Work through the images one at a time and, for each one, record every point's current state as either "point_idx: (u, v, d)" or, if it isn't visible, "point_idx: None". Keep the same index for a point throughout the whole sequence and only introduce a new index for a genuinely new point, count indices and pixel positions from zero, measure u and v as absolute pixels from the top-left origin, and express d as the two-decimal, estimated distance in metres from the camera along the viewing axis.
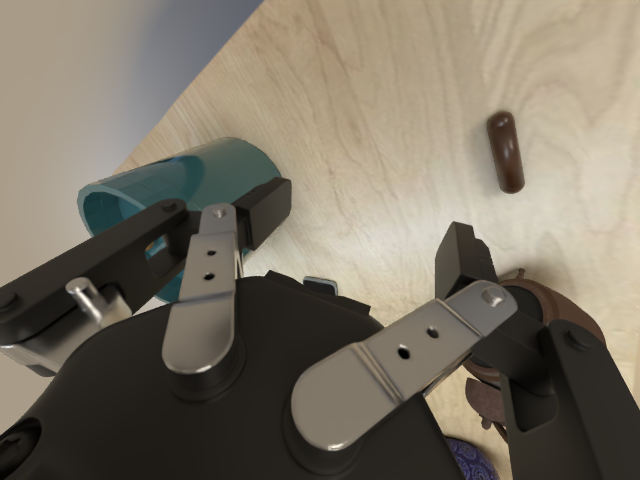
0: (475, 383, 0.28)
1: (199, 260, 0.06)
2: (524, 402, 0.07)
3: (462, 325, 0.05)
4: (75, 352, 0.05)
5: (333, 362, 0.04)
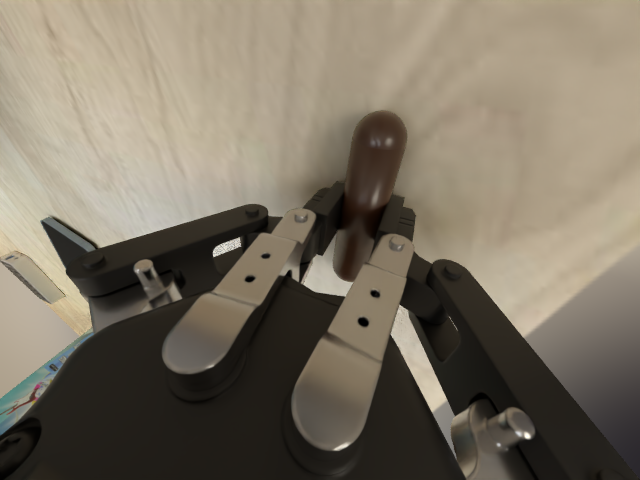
0: None
1: (251, 259, 0.06)
2: (434, 335, 0.08)
3: (391, 276, 0.06)
4: (75, 352, 0.05)
5: (315, 364, 0.04)
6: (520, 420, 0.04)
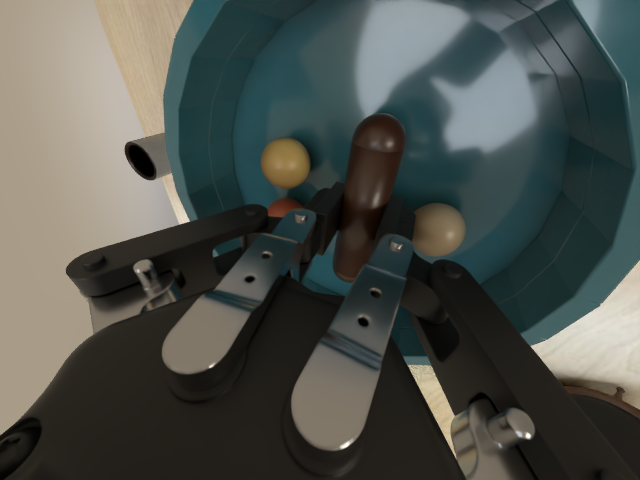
0: None
1: (252, 259, 0.06)
2: (434, 335, 0.08)
3: (390, 276, 0.06)
4: (74, 352, 0.05)
5: (315, 364, 0.04)
6: (520, 420, 0.04)
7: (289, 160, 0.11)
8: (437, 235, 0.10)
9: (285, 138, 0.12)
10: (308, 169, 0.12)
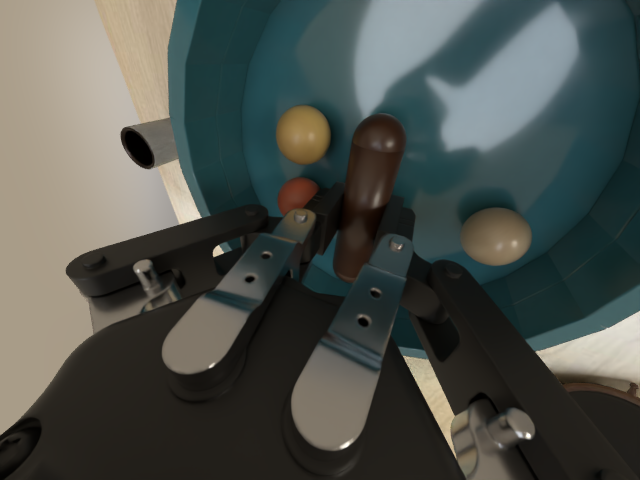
0: None
1: (251, 259, 0.06)
2: (434, 335, 0.08)
3: (391, 277, 0.06)
4: (75, 353, 0.05)
5: (315, 364, 0.04)
6: (520, 420, 0.04)
7: (310, 129, 0.10)
8: (518, 258, 0.10)
9: (304, 105, 0.11)
10: (329, 141, 0.11)
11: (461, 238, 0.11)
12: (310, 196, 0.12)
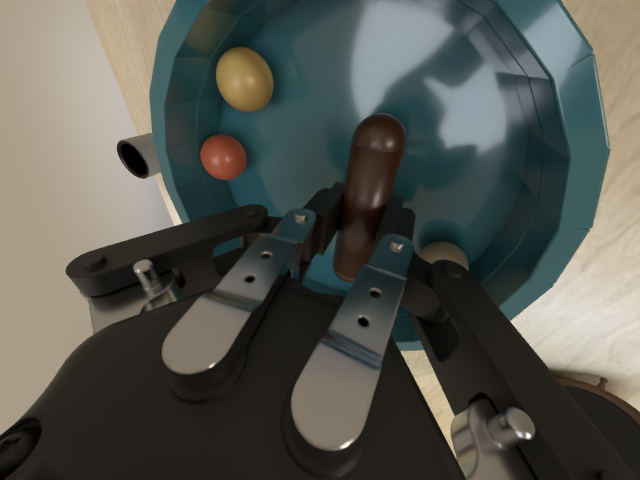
0: None
1: (251, 259, 0.06)
2: (434, 335, 0.08)
3: (391, 277, 0.06)
4: (74, 352, 0.05)
5: (315, 364, 0.04)
6: (520, 420, 0.04)
7: None
8: None
9: (265, 105, 0.12)
10: (262, 64, 0.11)
11: None
12: (241, 145, 0.14)
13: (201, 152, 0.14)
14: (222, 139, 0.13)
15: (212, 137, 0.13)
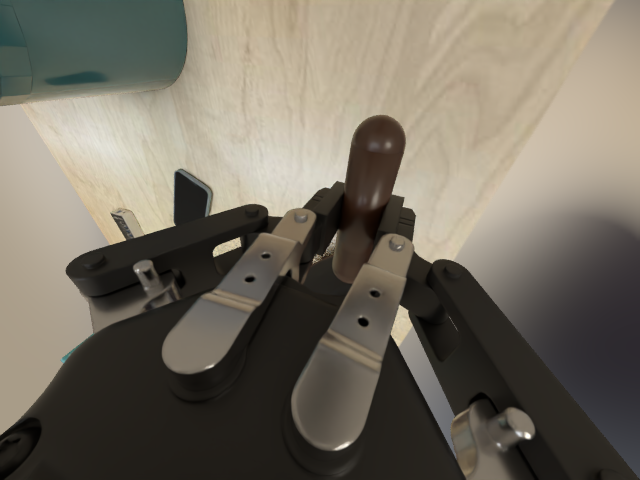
0: None
1: (251, 259, 0.06)
2: (434, 335, 0.08)
3: (391, 276, 0.06)
4: (75, 352, 0.05)
5: (315, 364, 0.04)
6: (520, 420, 0.04)
7: None
8: None
9: None
10: None
11: None
12: None
13: None
14: None
15: None
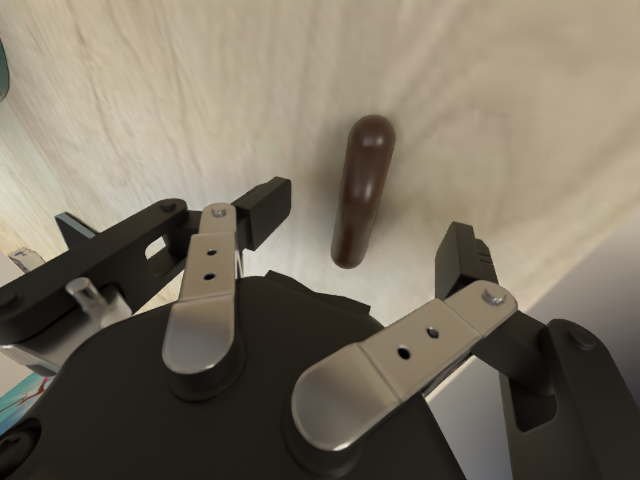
0: None
1: (199, 260, 0.06)
2: (524, 402, 0.07)
3: (462, 325, 0.05)
4: (75, 352, 0.05)
5: (333, 362, 0.04)
6: None
7: None
8: None
9: None
10: None
11: None
12: None
13: None
14: None
15: None
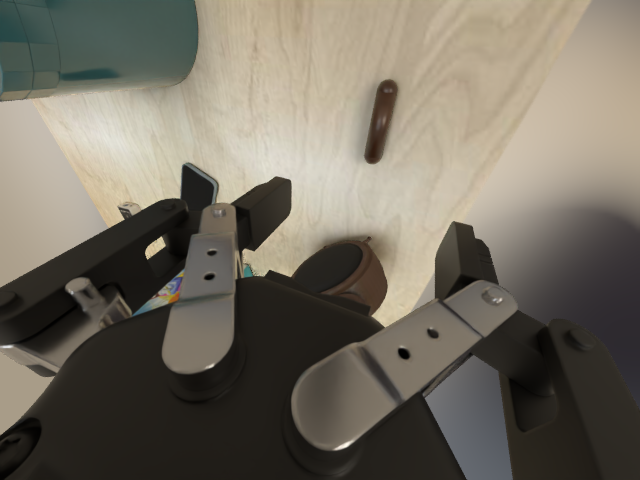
0: None
1: (199, 260, 0.06)
2: (524, 402, 0.07)
3: (462, 325, 0.05)
4: (74, 352, 0.05)
5: (333, 362, 0.04)
6: None
7: None
8: None
9: None
10: None
11: None
12: None
13: None
14: None
15: None
